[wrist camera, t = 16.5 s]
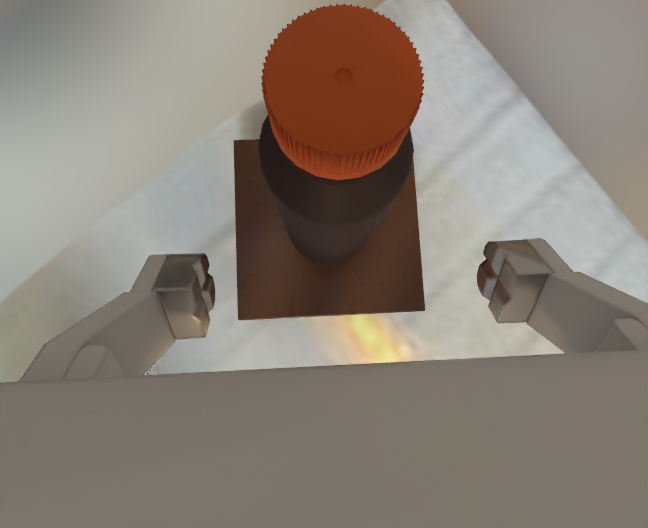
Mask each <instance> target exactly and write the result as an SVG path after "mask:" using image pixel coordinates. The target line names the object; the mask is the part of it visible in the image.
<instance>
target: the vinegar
mask: <svg viewBox="0 0 648 528" xmlns="http://www.w3.org/2000/svg"><path fill="white" fill-rule="evenodd" d="M400 28H401V27H397V26H396V25H395V22H394V23H393V22H392V21H391V20H390V18H389V19H388V18H386V17H384V15H380V14H378V12H374V11H372V9H370V10H369V9H366V8H365V7H364V8H360V7H359V6H357V7H355V6H352V5H350V6H349V5H345V4H344V5H338V4H337V5H336V6H331V5H330V6H329V7H325V6H323V7H321V8H317V9H316V10H314V11H312V10H310V12H309V13H307V14H306V13H304V15H302V16H298V18H297V19H296V20H295V21H294V20H292V23H291V24H290V25H289V24H287V28H285V29H282V32H281V33H280V34H279V33H278V38H277V39H274V45H270V46H271V50H268V51H267V52H268V57H265V59H266V63H264V64H263V65H264V69H263V70H262V72H263V76H262V81H263V82H262V87H263V89H262V91H263V95H264V96H263V97H264V101H265V104H266V108H267V112H268V116H267V117H266V119H265V121H264V123H263V125H262V130H261V135H260V140H259V145H258V150H259V158H260V167H261V173H262V175H263V177H264V179H265V182H266V184H267V186H268V189H269V191H270V193H271V195H272V198H273V200H274V202H275V205H276V207H277V209H278V211H279V214H280V216H281V218H282V221H283V223H284V225H285V227H286V230H287V232H288V234H289V236H290V238H291V240H292V243H293V245H294V246H295V247H296V248H297V249H298V250H299V251H300V252H301V253H302V255H304V256H306V257H307V258H309V259H311V260H313V261H315V262H321V263H326V264H330V263H337V262H342V261H344V260H346V259H348V258H350V257H352V256H354V255H355V254H356V253H357V252H358V251H359V250H360V249H361V248H362V247H363V246H364V244H365V243H366V241H367V240H368V239H369V237H370V236H371V234H372V233H373V232H374V230H375V229H376V227H377V226H378V225H379V223H380V222H381V220H382V219H383V217H384V216H385V215H386V213H387V212H388V210H389V209H390V208H391V206H392V205H393V203H394V202H395V200H396V199H397V198H398V196H399V194H400V192H401V191H402V189H403V187H404V185H405V183H406V181H407V179H408V177H409V175H410V171H411V165H412V158H413V152H414V149H413V143H412V137H411V131H410V126H411V124H412V122H413V120H414V118H415V116H416V114H417V111H418V109H419V107H420V106H419V105H420V103H421V101H422V100H421V98H422V96H423V93H422V91H423V89H424V87H423V86H422V85H423V83H424V80H422V78H423V75H424V74H423V73H421V71H422V69H423V67H420V64H421V60H419V58H418V57H419V54H417V53H416V48H413V46H412V45H413V42H412V43H411V42H410V41H409V38H410V37H407V36H406V35H405V32H402V31H401V30H400Z"/></svg>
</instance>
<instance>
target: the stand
mask: <svg viewBox="0 0 648 528" xmlns="http://www.w3.org/2000/svg"><path fill="white" fill-rule="evenodd" d="M259 140H260V139H256V140H234V172H235V212H236V253H237V294H238V320H255V319H275V318H295V317H314V316H334V315H354V314H374V313H394V312H414V311H425V304H424V291H423V278H422V265H421V253H420V240H419V227H418V214H417V202H416V189H415V176H414V163H413V158H412V165H411V171H410V175H409V177H408V179H407V181H406V183H405V185H404V187H403V189H402V191H401V192H400V194H399V196H398V198H397V199H396V200H395V202H394V203H393V205H392V206H391V208H390V209H389V210H388V212H387V213H386V215H385V216H384V217H383V219H382V220H381V222H380V223H379V225H378V226H377V227H376V229H375V230H374V232H373V233H372V234H371V236H370V237H369V239H368V240H367V241H366V243H365V244H364V246H363V247H362V248H361V249H360V250H359V251H358V252H357V253H356V254H355V255H354V256H352V257H350V258H348V259H346V260H344V261H342V262H337V263H330V264H326V263H321V262H315V261H313V260H311V259H309V258H307V257H306V256H304V255H302V253H301V252H300V251H299V250H298V249H297V248H296V247H295V246H294V245H293V243H292V240H291V238H290V236H289V234H288V232H287V230H286V227H285V225H284V223H283V221H282V218H281V216H280V214H279V211H278V209H277V207H276V205H275V202H274V200H273V198H272V195H271V193H270V191H269V189H268V186H267V184H266V182H265V179H264V177H263V175H262V173H261V167H260V158H259V150H258V145H259Z"/></svg>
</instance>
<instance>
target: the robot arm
mask: <svg viewBox="0 0 648 528" xmlns="http://www.w3.org/2000/svg"><path fill="white" fill-rule="evenodd" d="M483 254H484V256H485V257H486V260H485V261H484V262H482V263H481V264H480V265H479V269H478V273H477V284H478V287H479V290H480V292H481V294H482V296H484V297H485V298H487V299H488V300H490V303H489V306H488V307H489V309H490V310H491V312H492V314H493V316H494V318H495V319H496V321H497V323H518V322H527V324H528V325H529V326H531V327H532V328H533V329H534V330H536V331H537V332H538V333H540V334H541V335H542V336H544V337H545V338H546V339H548V340H549V341H550V342H552V343H553V344H554V345H555V346H557V347H558V348H559V349H561V350H562V351H563V352H565V353H566V354H548V355H530V356H510V357H490V358H470V359H450V360H430V361H410V362H391V363H372V364H353V365H334V366H315V367H296V368H277V369H257V370H238V371H219V372H199V373H180V374H160V375H143V374H144V373H145V372H146V371H147V370H148V369H149V368H150V367H151V366H152V365H153V364H154V363H155V362H156V361H157V360H158V359H159V358H160V357H161V355H162V354H163V353H164V352H165V351H166V350H167V349H168V348H169V347H170V346H171V345H172V344H173V343H174V342H175V339H189V338H202V337H206V334H207V330H208V326H209V322H210V317H209V314H208V312H209V311H210V310H212V309H213V306H214V302H215V286H214V281H213V277H212V276H211V275H209V274H208V273H207V272H208V269H209V262H208V258H207V256H206V255H205V254H204V253H202V254H170V255H168V254H163V255H151V256H149V257H148V259H147V260H146V262H145V264H144V266H143V268H142V270H141V272H140V274H139V276H138V278H137V279H136V281H135V283H134V285H133V287H132V289H131V291H130V292H126V293H123V294H121V295H120V296H118V297H117V298H115V299H114V300H112V301H111V302H109V303H108V304H106V305H104V306H103V307H101V308H100V309H98V310H97V311H95V312H94V313H92V314H91V315H89V316H88V317H86V318H85V319H83V320H81V321H80V322H78V323H77V324H75V325H74V326H72V327H71V328H69V329H68V330H66V331H65V332H63V333H62V334H60V335H58V336H57V337H55V338H54V339H52V340H51V341H49V342H48V343H46V344H45V345H43V347H42V348H41V350H40V351H39V353H38V354H37V356H36V357H35V358H34V360H33V361H32V363H31V364H30V366H29V367H28V369H27V370H26V372H25V373H24V375H23V376H22V378H21V379H20V381H19V382H4V383H0V528H648V303H645V302H643V301H641V300H639V299H637V298H635V297H632V296H630V295H628V294H626V293H624V292H622V291H619V290H617V289H615V288H613V287H611V286H609V285H606V284H604V283H602V282H600V281H598V280H596V279H593V278H591V277H589V276H587V275H585V274H583V273H580V272H573V271H572V270H571V269H570V267H569V266H568V265H567V264H566V263H565V262H564V261H563V260H562V259H561V257H560V256H559V255H558V254H557V253H556V252H555V251H554V250H553V249H552V247H551V246H550V245H549V244H548V243H547V242H546V241H545V240H543V239H541V238H535V239H523V240H511V241H492V242H488V243H487V244H486V246H485V249H484V252H483Z"/></svg>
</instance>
